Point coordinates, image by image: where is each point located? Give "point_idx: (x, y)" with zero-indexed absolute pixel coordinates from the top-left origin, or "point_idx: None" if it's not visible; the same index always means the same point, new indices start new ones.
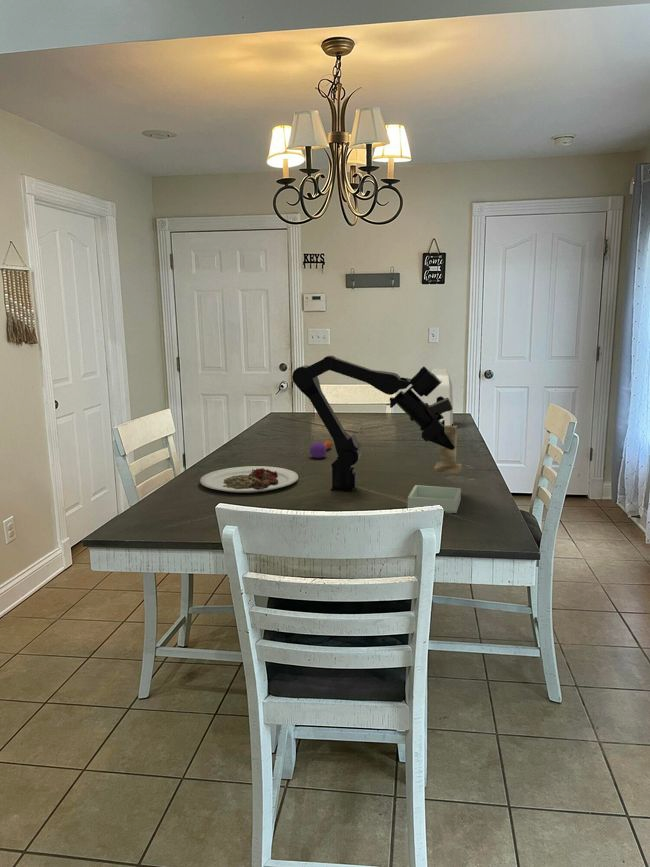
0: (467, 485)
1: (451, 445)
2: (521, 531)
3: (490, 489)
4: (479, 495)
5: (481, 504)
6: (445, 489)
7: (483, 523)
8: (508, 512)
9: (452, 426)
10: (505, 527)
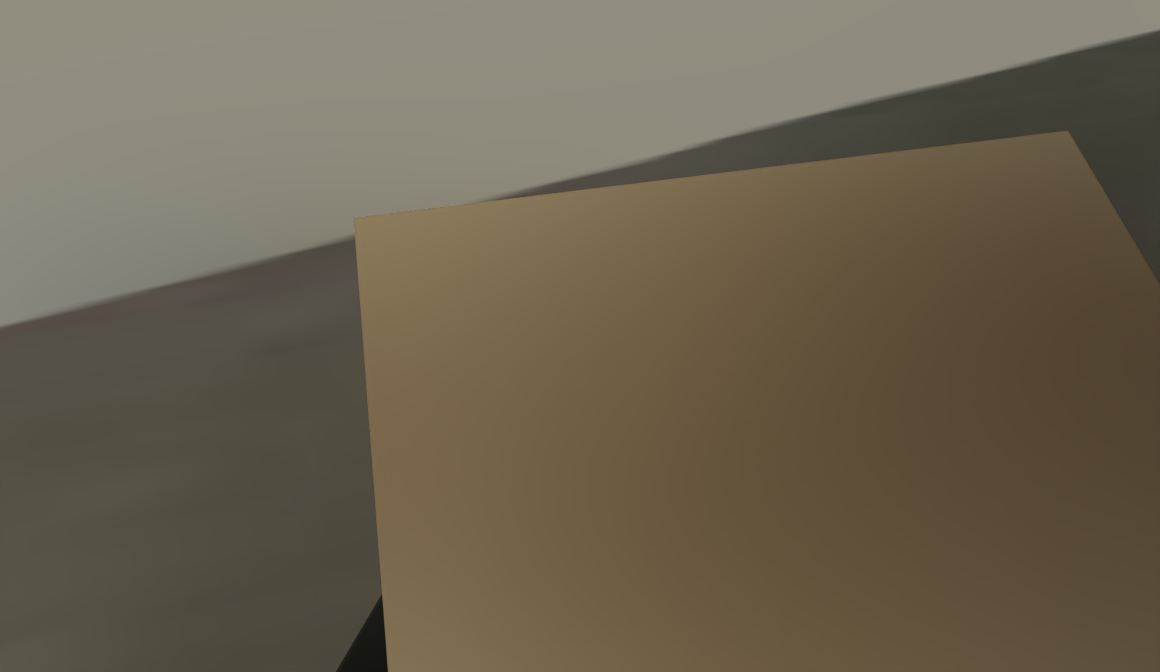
0: (211, 551)
1: None
2: (1128, 42)
3: (305, 327)
4: None
5: None
6: None
7: (1156, 216)
8: (853, 131)
9: (722, 372)
10: (1129, 109)
